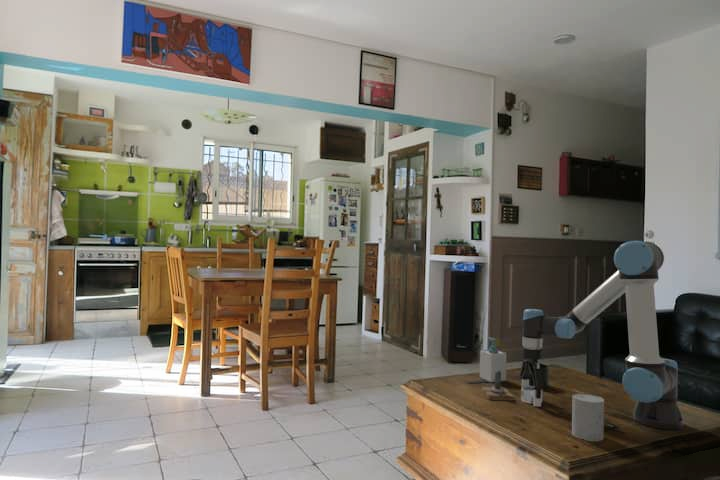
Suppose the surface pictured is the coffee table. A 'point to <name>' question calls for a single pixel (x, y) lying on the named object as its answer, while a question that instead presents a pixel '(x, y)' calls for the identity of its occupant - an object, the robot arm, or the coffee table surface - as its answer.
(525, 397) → the ring
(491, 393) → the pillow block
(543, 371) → the mug
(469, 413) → the coffee table surface
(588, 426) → the white cylinder
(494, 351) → the soap bottle
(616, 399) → the coffee table surface
